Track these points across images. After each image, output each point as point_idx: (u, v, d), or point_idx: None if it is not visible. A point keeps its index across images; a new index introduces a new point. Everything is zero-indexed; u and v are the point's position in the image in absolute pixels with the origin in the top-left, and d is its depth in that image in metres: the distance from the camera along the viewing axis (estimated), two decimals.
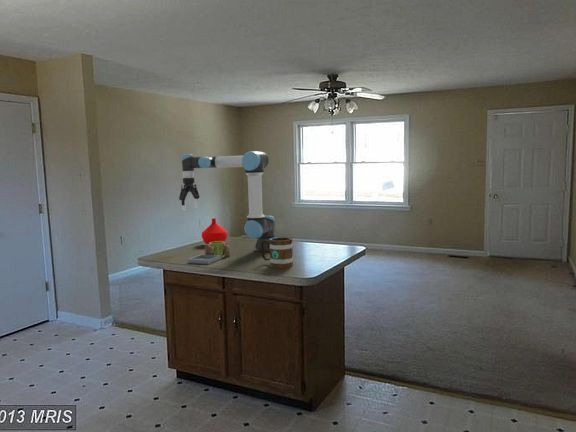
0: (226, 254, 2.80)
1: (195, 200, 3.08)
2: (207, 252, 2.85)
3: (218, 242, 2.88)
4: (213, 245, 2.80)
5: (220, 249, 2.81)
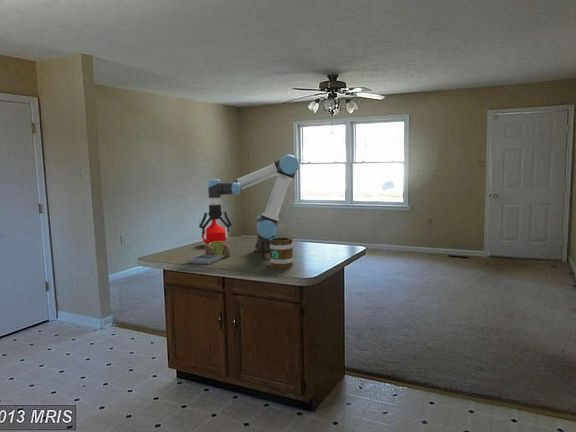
0: (226, 254, 2.80)
1: (225, 229, 2.85)
2: (207, 252, 2.85)
3: (218, 242, 2.88)
4: (213, 245, 2.80)
5: (220, 249, 2.81)
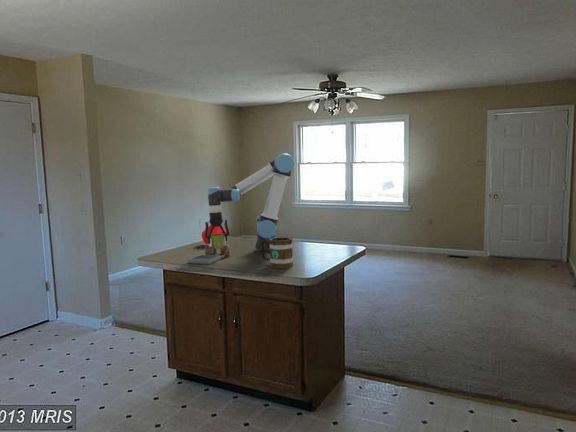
0: (226, 254, 2.80)
1: None
2: (207, 252, 2.85)
3: (218, 234, 2.87)
4: (213, 237, 2.79)
5: (220, 241, 2.81)
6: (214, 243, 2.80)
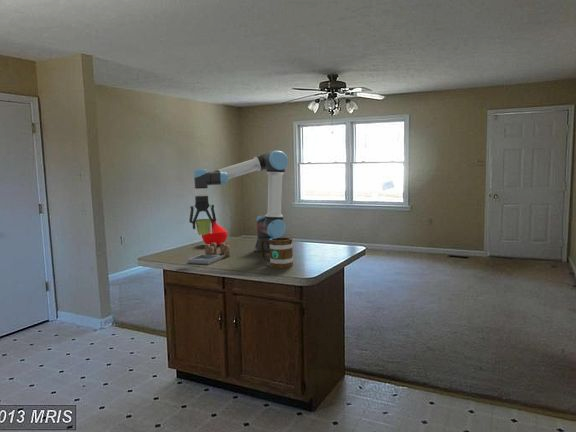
0: (226, 254, 2.80)
1: None
2: (207, 252, 2.85)
3: (204, 220, 2.71)
4: (198, 222, 2.63)
5: (206, 227, 2.64)
6: (199, 228, 2.64)
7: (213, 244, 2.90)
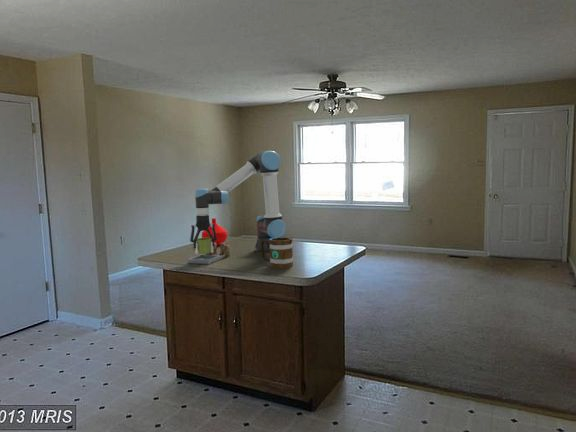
0: (226, 254, 2.80)
1: (210, 243, 2.69)
2: None
3: (205, 238, 2.72)
4: (199, 242, 2.64)
5: (207, 246, 2.66)
6: (200, 248, 2.65)
7: None
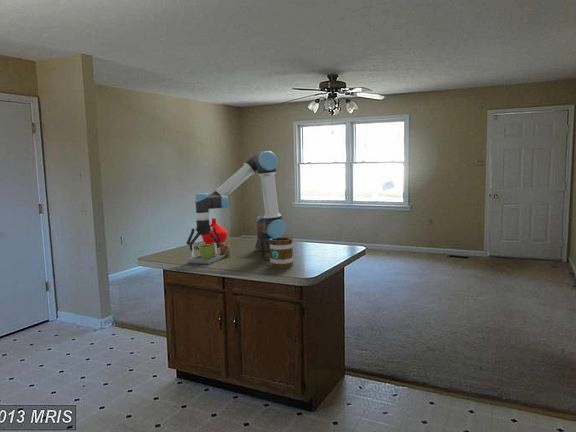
0: (226, 254, 2.80)
1: (214, 245, 2.70)
2: None
3: (207, 245, 2.73)
4: (202, 249, 2.65)
5: (209, 253, 2.66)
6: (202, 255, 2.66)
7: (213, 244, 2.90)
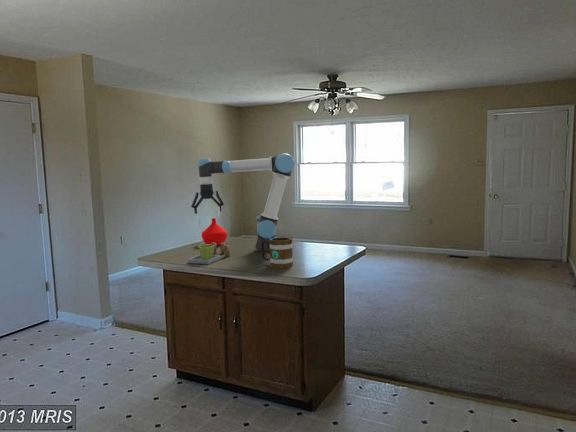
0: (226, 254, 2.80)
1: (218, 208, 2.83)
2: None
3: (207, 245, 2.73)
4: (202, 249, 2.65)
5: (209, 253, 2.66)
6: (202, 255, 2.66)
7: (213, 244, 2.90)
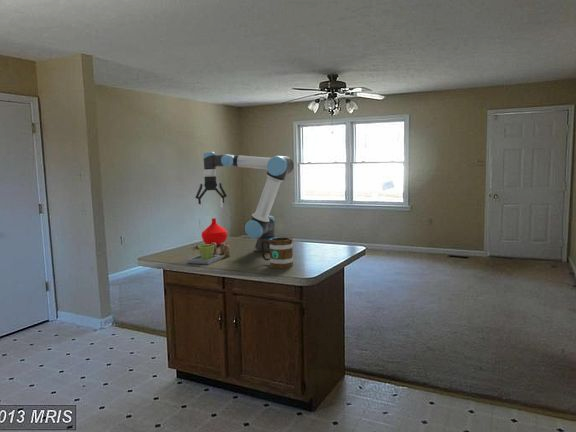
0: (226, 254, 2.80)
1: (221, 199, 2.98)
2: None
3: (207, 245, 2.73)
4: (202, 249, 2.65)
5: (209, 253, 2.66)
6: (202, 255, 2.66)
7: (213, 244, 2.90)
